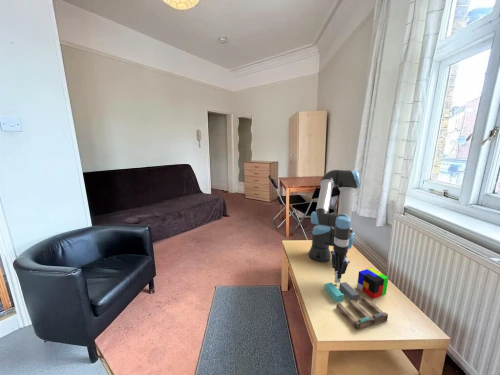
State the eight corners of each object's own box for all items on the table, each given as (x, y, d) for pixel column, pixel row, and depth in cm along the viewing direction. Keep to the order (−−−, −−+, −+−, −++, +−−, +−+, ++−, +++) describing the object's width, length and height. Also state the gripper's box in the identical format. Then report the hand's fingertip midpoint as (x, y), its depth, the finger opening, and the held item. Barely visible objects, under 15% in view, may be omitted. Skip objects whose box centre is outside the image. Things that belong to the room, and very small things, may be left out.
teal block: (324, 290, 116) (325, 283, 115) (331, 288, 117) (331, 282, 116) (336, 302, 106) (336, 296, 106) (342, 301, 107) (343, 294, 106)
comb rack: (336, 308, 103) (336, 301, 102) (364, 300, 108) (365, 294, 107) (356, 330, 90) (357, 323, 90) (387, 320, 95) (388, 313, 95)
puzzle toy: (356, 287, 118) (358, 271, 116) (369, 282, 122) (371, 267, 120) (373, 299, 109) (375, 282, 107) (385, 293, 113) (388, 277, 111)
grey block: (339, 289, 116) (339, 283, 115) (345, 288, 117) (345, 282, 116) (351, 302, 107) (352, 295, 106) (358, 300, 108) (359, 294, 107)
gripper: (327, 240, 120) (324, 276, 125) (343, 250, 108) (339, 290, 113) (338, 238, 122) (335, 274, 127) (355, 248, 110) (350, 288, 115)
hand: (337, 282), depth 120 cm, fingers closed
